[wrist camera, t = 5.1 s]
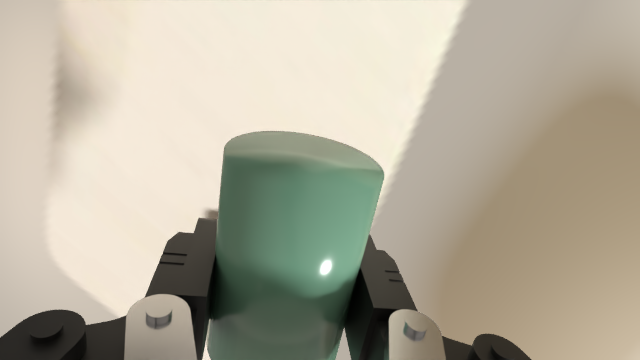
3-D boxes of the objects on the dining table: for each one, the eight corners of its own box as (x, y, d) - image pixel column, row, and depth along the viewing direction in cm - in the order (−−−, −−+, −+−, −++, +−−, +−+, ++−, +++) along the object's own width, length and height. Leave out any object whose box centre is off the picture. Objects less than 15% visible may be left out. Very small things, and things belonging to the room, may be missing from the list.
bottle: (228, 123, 12) (218, 185, 8) (362, 140, 12) (407, 203, 9) (205, 362, 15) (191, 477, 12) (309, 363, 16) (326, 470, 13)
